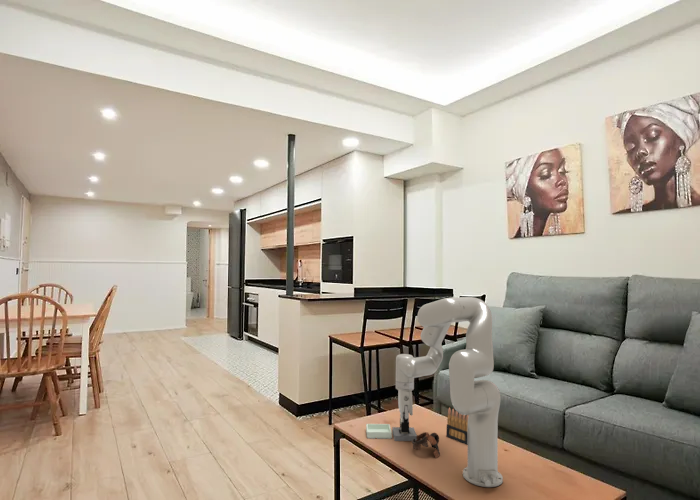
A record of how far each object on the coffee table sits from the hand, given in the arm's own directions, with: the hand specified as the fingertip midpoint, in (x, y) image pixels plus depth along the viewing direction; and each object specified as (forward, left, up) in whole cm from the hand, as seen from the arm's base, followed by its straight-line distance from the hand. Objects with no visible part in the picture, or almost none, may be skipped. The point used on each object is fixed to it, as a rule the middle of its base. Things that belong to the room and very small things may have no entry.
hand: (404, 429), depth 168 cm
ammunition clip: (-3, -22, -3) cm, 22 cm away
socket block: (0, 0, -3) cm, 3 cm away
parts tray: (+2, +10, -3) cm, 11 cm away
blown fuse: (0, 0, -3) cm, 3 cm away
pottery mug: (-14, -7, -3) cm, 16 cm away
